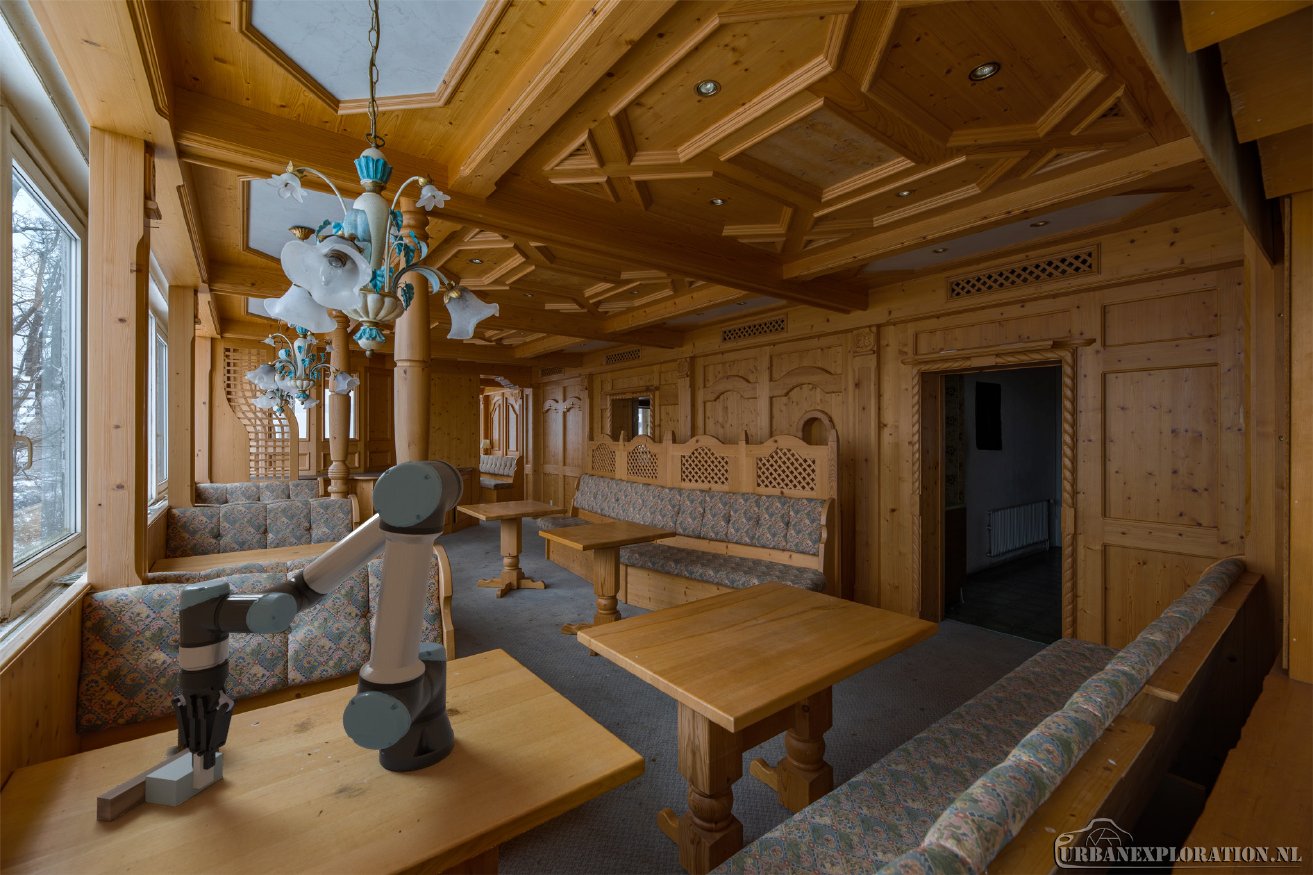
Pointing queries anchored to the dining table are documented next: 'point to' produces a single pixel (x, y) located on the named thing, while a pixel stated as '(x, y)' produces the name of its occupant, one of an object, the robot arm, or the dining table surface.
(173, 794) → the block
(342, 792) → the dining table surface
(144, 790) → the board
